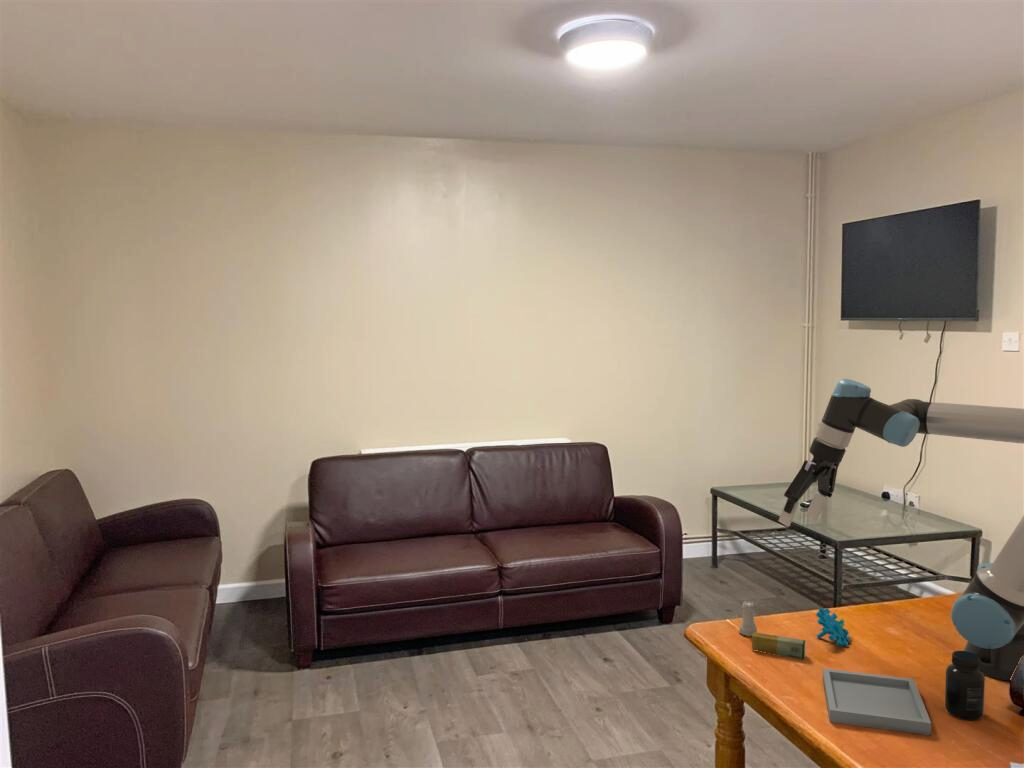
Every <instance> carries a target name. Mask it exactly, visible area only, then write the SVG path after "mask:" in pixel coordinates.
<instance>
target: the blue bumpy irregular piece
mask: <svg viewBox="0 0 1024 768" xmlns="http://www.w3.org/2000/svg"><path fill="white" fill-rule="evenodd" d="M830 613H831V610H830V609H829V608H828V607H826V608H823V607H820V608H819V609H818V612H816V613H815V615H816V616H817V624H818V625H821V626H823V627H822V628H821V632H819V633H818V634H816V638H817V639H819V640H820V639H822V638H823V637H824V636H826V635H828V634H829V636H828V639H829V640H830V641H831V642H835V640H837V641H836V642H835V644H836V646H838V647H841V646H843V647H847V646H848V645H849V642H851V638H850V637H849V634H850V633H849V630H848V629H845V628H844V626H845V624H844V623H845V620H844V619H843V618H840V619H839V620H836V619H837V618H838V615H837V614H836V613H835V612H833V613H832V614H831V615H830Z"/></svg>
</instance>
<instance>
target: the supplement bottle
mask: <svg viewBox="0 0 1024 768" xmlns="http://www.w3.org/2000/svg"><path fill="white" fill-rule="evenodd" d="M979 663H980V658H979V657H978V656H977V655H976V654H974V653H971V652H967V651H964V650H955V651H953V652H952V653H951V663H950V664H949V665H948V666H947V667H946V668H945V688H944V691H945V692H944V693H945V694H944V708H945V710H946V712H947V713H948V714H950V715H951V716H952V717H955V718H957V719H962V720H964V721H965V720H966V721H977V720H980V719H982V718H983V717H984V712H985V686H986V675H985V674H984V673H983V672H982V671H981V670H980V669H979V667H980V664H979Z"/></svg>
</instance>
